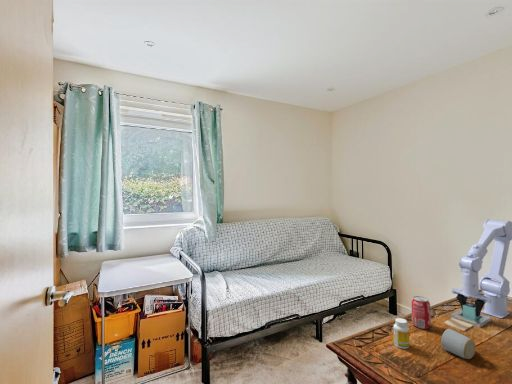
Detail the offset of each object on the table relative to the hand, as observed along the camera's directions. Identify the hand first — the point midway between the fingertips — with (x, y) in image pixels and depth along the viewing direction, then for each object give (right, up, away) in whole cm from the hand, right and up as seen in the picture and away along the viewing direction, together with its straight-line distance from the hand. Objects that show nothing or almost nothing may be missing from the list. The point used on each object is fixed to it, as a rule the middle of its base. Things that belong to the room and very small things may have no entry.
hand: (471, 313), depth 124 cm
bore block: (0, -3, 0) cm, 3 cm away
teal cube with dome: (0, -2, 0) cm, 2 cm away
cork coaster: (-9, -3, -5) cm, 11 cm away
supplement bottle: (-42, -4, -19) cm, 46 cm away
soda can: (-26, -4, -5) cm, 26 cm away
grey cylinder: (-23, -4, -25) cm, 34 cm away
